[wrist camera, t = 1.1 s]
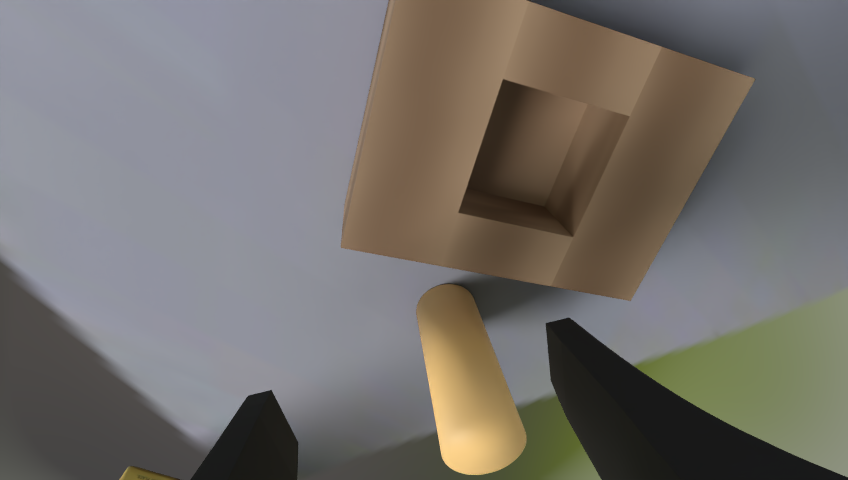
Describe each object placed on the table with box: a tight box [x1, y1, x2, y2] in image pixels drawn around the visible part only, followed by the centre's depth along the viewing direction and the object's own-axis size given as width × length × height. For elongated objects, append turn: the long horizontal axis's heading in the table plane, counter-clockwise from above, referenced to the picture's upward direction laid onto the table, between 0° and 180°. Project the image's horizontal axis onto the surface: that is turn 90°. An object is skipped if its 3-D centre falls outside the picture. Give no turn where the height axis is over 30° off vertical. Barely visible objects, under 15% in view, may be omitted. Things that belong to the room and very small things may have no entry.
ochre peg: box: [416, 284, 526, 475], centre depth 19 cm, size 3×3×8 cm
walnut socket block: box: [341, 0, 755, 301], centre depth 17 cm, size 12×9×4 cm
